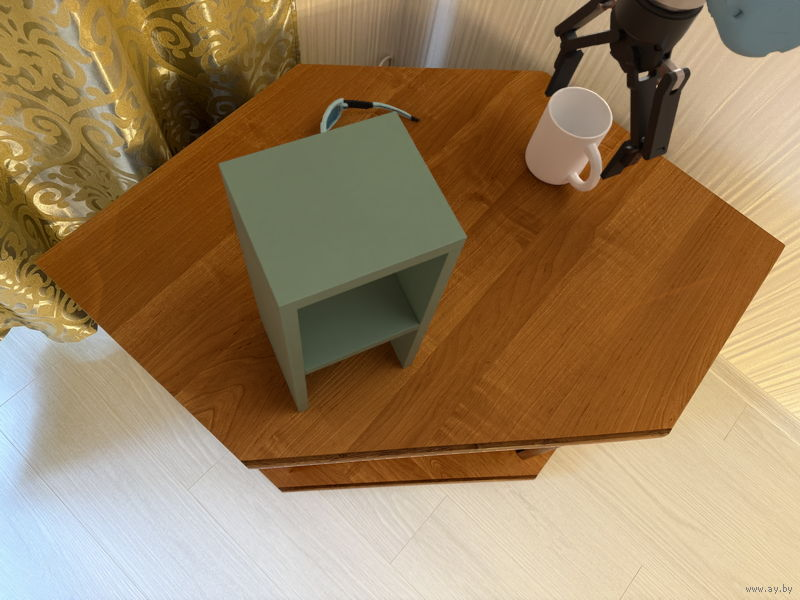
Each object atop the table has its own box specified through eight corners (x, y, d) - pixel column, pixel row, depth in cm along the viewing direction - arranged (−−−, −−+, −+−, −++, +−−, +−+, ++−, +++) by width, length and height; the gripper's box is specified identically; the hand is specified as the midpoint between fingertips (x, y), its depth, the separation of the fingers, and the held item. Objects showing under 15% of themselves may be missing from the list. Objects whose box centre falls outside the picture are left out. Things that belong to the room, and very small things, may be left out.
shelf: (412, 364, 69) (467, 237, 42) (298, 412, 66) (278, 307, 38) (370, 278, 73) (395, 110, 46) (260, 319, 69) (217, 163, 42)
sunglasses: (310, 114, 82) (314, 88, 78) (413, 119, 86) (422, 94, 82) (321, 201, 76) (326, 178, 72) (430, 201, 81) (441, 179, 76)
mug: (603, 200, 82) (639, 153, 72) (552, 215, 80) (582, 170, 70) (563, 132, 86) (593, 80, 76) (513, 146, 84) (537, 94, 74)
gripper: (568, -93, 59) (508, 68, 78) (717, 94, 51) (610, 221, 70) (629, -106, 61) (556, 54, 80) (781, 72, 53) (659, 201, 72)
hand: (581, 132), depth 75 cm, fingers open, 13 cm apart
